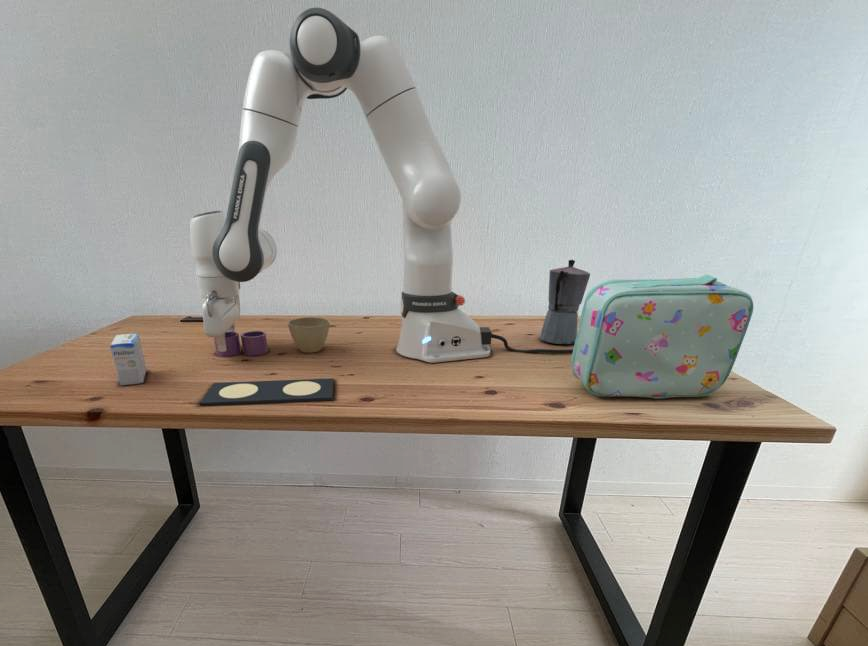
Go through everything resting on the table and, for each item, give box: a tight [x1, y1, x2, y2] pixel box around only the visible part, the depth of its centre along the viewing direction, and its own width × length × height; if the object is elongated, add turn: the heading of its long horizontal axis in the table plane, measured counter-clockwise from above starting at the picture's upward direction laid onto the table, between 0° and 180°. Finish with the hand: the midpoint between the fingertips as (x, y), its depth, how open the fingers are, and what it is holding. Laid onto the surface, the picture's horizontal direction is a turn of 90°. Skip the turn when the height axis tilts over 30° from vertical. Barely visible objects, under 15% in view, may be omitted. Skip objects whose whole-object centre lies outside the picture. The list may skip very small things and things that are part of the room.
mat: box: [199, 377, 335, 407], centre depth 88 cm, size 24×10×1 cm, turn 94°
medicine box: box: [109, 333, 147, 386], centre depth 94 cm, size 8×4×9 cm, turn 21°
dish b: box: [213, 331, 242, 357], centre depth 110 cm, size 6×6×4 cm
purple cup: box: [240, 330, 269, 356], centre depth 111 cm, size 6×6×4 cm
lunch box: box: [570, 274, 754, 400], centre depth 82 cm, size 27×10×21 cm, turn 90°
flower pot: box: [287, 316, 331, 354], centre depth 111 cm, size 10×10×7 cm
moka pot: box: [539, 259, 591, 345], centre depth 113 cm, size 10×15×20 cm, turn 148°
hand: (227, 345), depth 111 cm, fingers open, 7 cm apart
